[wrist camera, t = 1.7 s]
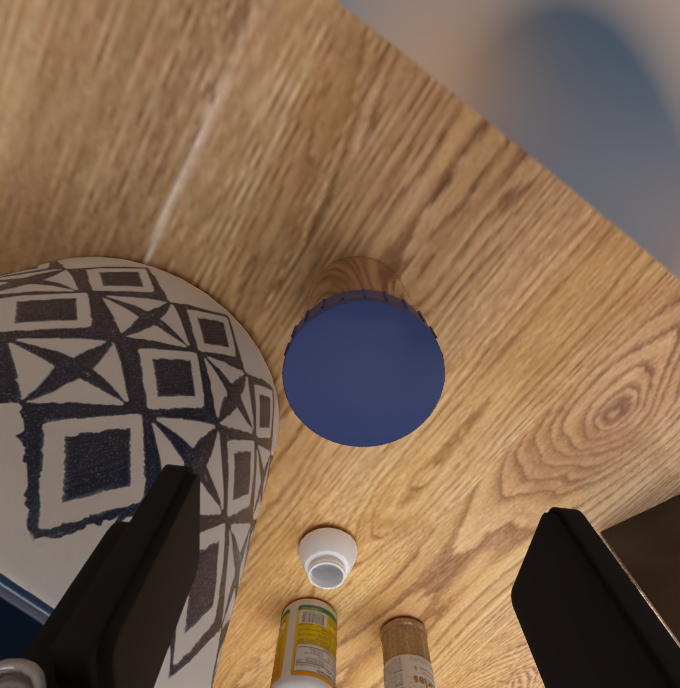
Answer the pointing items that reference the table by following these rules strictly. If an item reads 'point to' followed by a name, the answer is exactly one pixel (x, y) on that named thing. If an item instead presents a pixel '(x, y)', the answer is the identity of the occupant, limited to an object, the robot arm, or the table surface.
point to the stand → (653, 558)
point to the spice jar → (406, 655)
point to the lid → (363, 368)
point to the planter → (125, 437)
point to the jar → (355, 280)
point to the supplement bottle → (306, 646)
